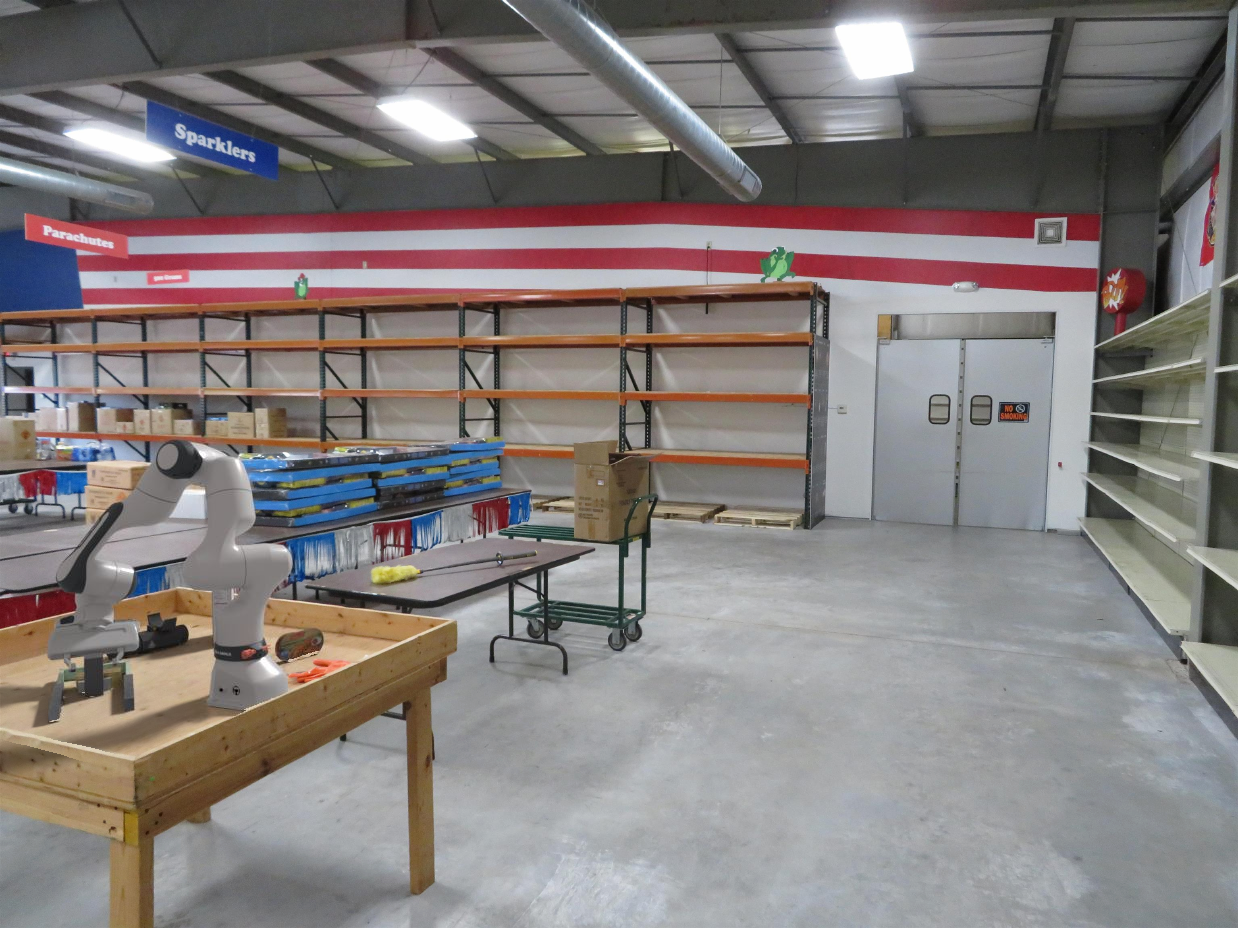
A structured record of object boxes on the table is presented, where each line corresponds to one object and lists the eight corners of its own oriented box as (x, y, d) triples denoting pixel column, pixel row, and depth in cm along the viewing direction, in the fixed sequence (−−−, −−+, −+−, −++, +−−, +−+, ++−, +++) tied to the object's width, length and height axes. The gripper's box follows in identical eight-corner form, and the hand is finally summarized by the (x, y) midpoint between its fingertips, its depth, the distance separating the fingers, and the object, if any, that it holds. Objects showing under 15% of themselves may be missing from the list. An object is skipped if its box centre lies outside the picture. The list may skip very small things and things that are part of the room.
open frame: (130, 685, 209) (130, 674, 209) (56, 695, 200) (56, 683, 200) (129, 670, 220) (129, 660, 220) (59, 680, 211) (59, 669, 211)
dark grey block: (110, 694, 202) (109, 656, 202) (77, 698, 199) (76, 660, 198) (110, 687, 207) (110, 650, 206) (78, 692, 203) (77, 654, 202)
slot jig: (134, 709, 192) (134, 697, 192) (48, 722, 183) (48, 710, 183) (132, 684, 209) (132, 673, 209) (54, 695, 200) (54, 684, 200)
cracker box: (214, 634, 257) (213, 570, 256) (234, 632, 259) (234, 569, 258) (211, 646, 244) (210, 579, 243) (232, 644, 247) (232, 578, 245)
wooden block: (95, 689, 205) (94, 674, 205) (76, 692, 203) (76, 677, 203) (95, 684, 209) (95, 670, 208) (77, 687, 207) (76, 672, 206)
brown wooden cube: (120, 686, 208) (119, 671, 208) (102, 688, 206) (101, 673, 206) (121, 681, 212) (121, 667, 211) (103, 683, 210) (103, 669, 210)
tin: (279, 665, 228) (279, 636, 228) (273, 663, 230) (273, 634, 230) (324, 652, 241) (324, 625, 240) (318, 650, 243) (318, 624, 242)
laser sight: (101, 657, 231) (101, 623, 231) (177, 639, 251) (177, 608, 250) (119, 663, 226) (118, 629, 226) (195, 645, 246) (195, 613, 245)
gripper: (139, 623, 220) (140, 668, 212) (49, 633, 209) (47, 680, 201) (139, 611, 216) (141, 656, 208) (47, 620, 205) (45, 668, 197)
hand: (94, 668), depth 205 cm, fingers open, 8 cm apart
